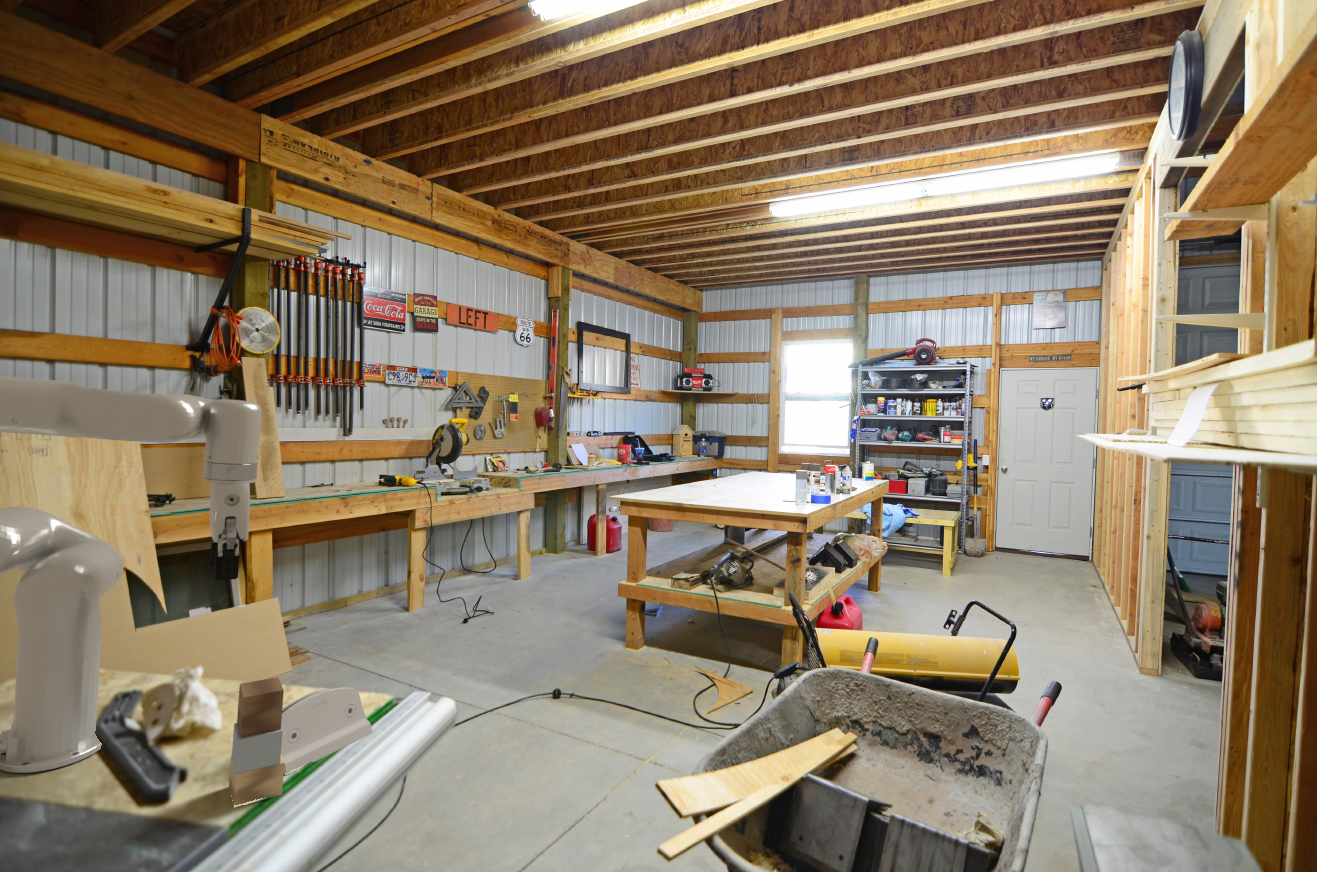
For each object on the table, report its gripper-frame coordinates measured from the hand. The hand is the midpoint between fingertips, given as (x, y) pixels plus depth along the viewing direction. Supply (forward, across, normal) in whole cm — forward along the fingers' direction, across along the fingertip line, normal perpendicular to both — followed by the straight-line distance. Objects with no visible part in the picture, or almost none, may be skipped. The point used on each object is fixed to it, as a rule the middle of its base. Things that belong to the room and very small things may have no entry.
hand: (223, 571), depth 106 cm
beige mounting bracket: (+29, -12, -14) cm, 34 cm away
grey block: (+23, -21, -4) cm, 32 cm away
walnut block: (+18, -21, -4) cm, 28 cm away
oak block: (+28, -21, -4) cm, 36 cm away
